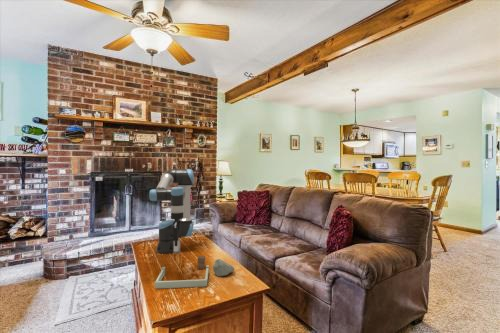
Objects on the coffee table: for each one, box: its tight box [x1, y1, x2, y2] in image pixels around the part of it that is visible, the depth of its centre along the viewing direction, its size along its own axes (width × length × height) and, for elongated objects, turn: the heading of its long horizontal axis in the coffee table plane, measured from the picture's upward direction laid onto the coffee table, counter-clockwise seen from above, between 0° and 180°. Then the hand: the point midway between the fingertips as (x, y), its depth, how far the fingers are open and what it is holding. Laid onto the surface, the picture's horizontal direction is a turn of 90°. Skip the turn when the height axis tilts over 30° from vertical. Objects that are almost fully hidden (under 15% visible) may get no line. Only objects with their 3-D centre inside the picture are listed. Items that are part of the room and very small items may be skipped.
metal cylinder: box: [173, 240, 181, 255], centre depth 154 cm, size 4×4×7 cm
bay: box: [154, 264, 210, 290], centre depth 148 cm, size 18×29×4 cm, turn 97°
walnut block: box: [197, 255, 206, 270], centre depth 166 cm, size 4×4×7 cm
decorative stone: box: [212, 258, 235, 277], centre depth 157 cm, size 13×11×10 cm
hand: (176, 249), depth 154 cm, fingers closed on metal cylinder, 4 cm apart
